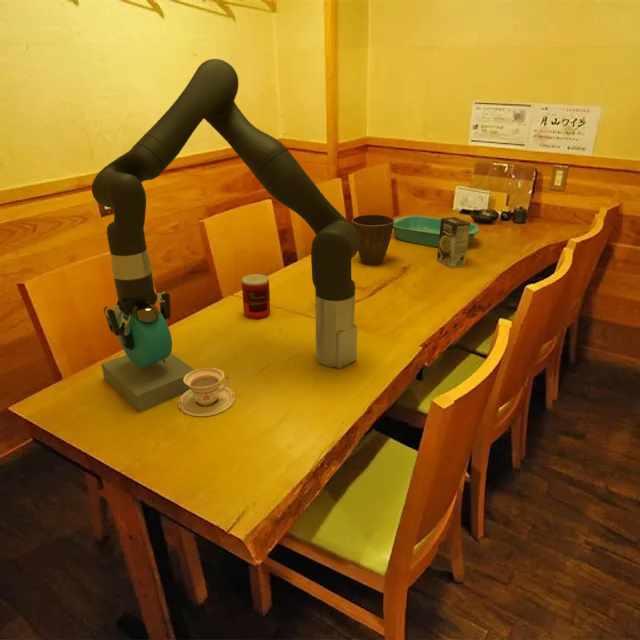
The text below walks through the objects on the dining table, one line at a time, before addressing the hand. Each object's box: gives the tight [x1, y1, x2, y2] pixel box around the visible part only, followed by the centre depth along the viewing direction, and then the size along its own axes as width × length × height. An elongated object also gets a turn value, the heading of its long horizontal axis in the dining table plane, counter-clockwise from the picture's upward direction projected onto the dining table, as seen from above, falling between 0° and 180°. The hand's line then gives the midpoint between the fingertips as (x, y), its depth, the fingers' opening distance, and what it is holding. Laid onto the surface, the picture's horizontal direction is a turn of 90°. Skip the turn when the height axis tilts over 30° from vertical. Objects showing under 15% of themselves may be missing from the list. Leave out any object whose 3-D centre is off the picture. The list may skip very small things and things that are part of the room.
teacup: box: [177, 367, 236, 418], centre depth 110 cm, size 12×12×6 cm
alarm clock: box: [116, 303, 173, 368], centre depth 112 cm, size 13×6×15 cm, turn 48°
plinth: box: [100, 352, 196, 413], centre depth 117 cm, size 18×14×4 cm
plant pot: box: [351, 214, 395, 267], centre depth 188 cm, size 15×15×16 cm
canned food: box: [241, 273, 271, 320], centre depth 149 cm, size 8×8×11 cm
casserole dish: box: [392, 215, 480, 248], centre depth 215 cm, size 37×22×7 cm, turn 55°
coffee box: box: [436, 216, 471, 269], centre depth 187 cm, size 9×6×16 cm
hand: (144, 343), depth 114 cm, fingers closed on alarm clock, 6 cm apart
